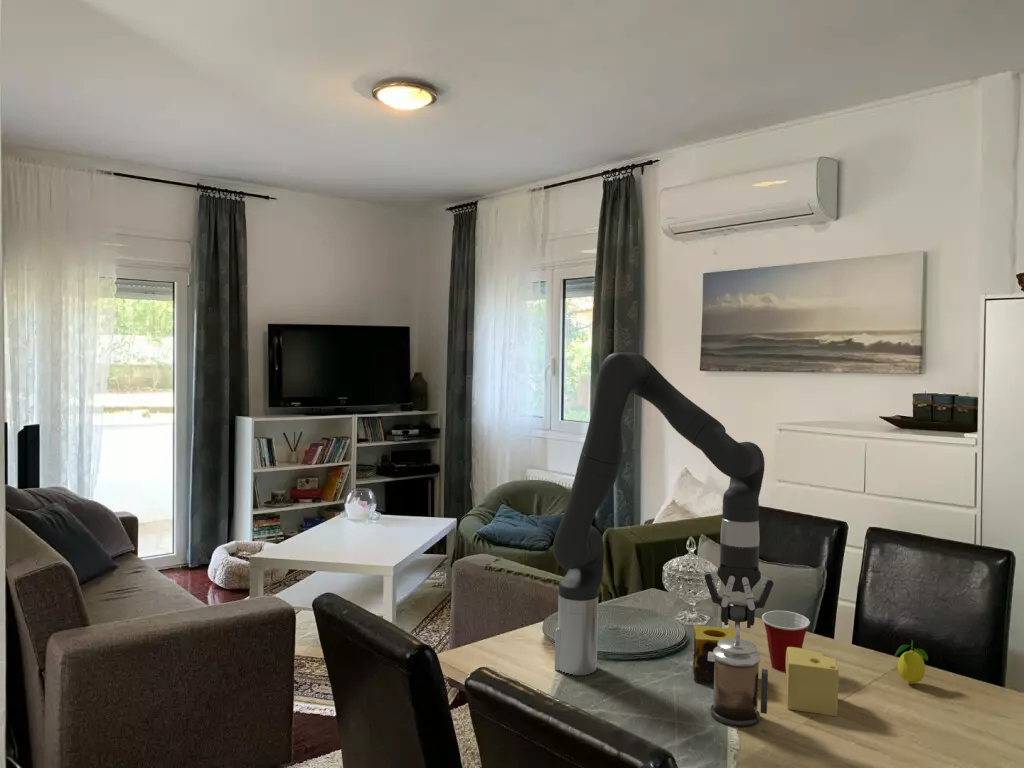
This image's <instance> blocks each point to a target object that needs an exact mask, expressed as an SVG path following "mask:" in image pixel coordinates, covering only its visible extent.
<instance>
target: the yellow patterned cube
mask: <svg viewBox="0 0 1024 768" xmlns="http://www.w3.org/2000/svg"><path fill="white" fill-rule="evenodd" d="M693 638H694V639H693V643H694V644H693V655H692V656H693V657H692V659H693V660H692V661H693V662H692V664H693V665H692V666H693V667H692V669H693V676H694V677H693V681H694V682H696V683H700V684H707V685H708V684H711V685H714V664H715V662H713V661H708V652H713V650H714V648H715V647H717V646H718V641H719V640H721V639H727V638H735V628H733V627H731V628H730V627H723V626H722V627H719V626H707V625H705V626H704V625H697V624H696V625H694V626H693Z"/></svg>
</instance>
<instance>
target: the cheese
mask: <svg viewBox="0 0 1024 768" xmlns="http://www.w3.org/2000/svg"><path fill="white" fill-rule="evenodd" d="M785 673H786V674H785V675H786V681H787V682H786V684H787V688H786V689H787V690H786V691H787V692H786V702H787V704H786V705H787V707H786V709H788V710H792V711H798V712H805V713H813V714H820V715H826V716H833V717H838V710H839V709H838V706H839V682H840V681H839V676H840V673H839V666H838V662H837V659H836V658H835V657H834V658H832V657H829V656H826V655H825V654H824V653H823V652H820V651H817V650H816V651H815V650H812V649H811V650H810V649H805V648H803V647H802V648H796V647H787V651H786V672H785Z"/></svg>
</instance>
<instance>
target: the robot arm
mask: <svg viewBox="0 0 1024 768" xmlns="http://www.w3.org/2000/svg"><path fill="white" fill-rule="evenodd" d="M630 394H631V395H632V394H634V395H636V396H638V397H640V398H642V399H643V400H645V401H647V402H649V403H650V404H652V405H653V406H654V407H655V408H656V409H657V410H658V411H659V412H660V413H661V414H662V415H663V416H664V418H665V419H666V420H667V422H668V423H669V425H670V426H671V427H672V428H673V429H674V430H675V431H676V432H677V433H678V434H679V435H680V436H681V437H683V438H684V439H685V440H687V442H689V443H690V444H691V445H693V446H694V447H696V448H697V449H699V450H700V451H701V452H702V453H703V454H704V456H705V457H706V458H707V459H708V460H709V462H711V463H712V464H713V466H714V467H715V468H716V469H717V470H719V472H720V473H722V474H724V475H725V476H727V477H729V478H730V479H729V486H728V488H727V489H726V490H725V491H724V493H723V496H722V516H721V517H722V519H721V526H720V545H719V546H720V547H719V549H720V550H719V551H720V552H719V555H720V556H719V567H718V568H717V570H716V571H706V572H705V574H704V580H705V583H706V585H707V589H708V592H709V595H710V598H711V600H712V603H714V604H717V605H719V606H720V609H721V610H720V621H721V623H724V625H723V626H729V619H728V603H729V602H730V601H729V600H730V597H731V594H732V593H736V592H740V593H741V594H743V593H744V594H745V599H746V602H747V605H748V609H747V621H746V628H747V629H751V626H754V624H755V616H756V615H755V613H756V610H757V609H764V608H765V606H766V603H767V601H768V598H769V596H770V593H771V592H772V589H773V587H774V579H773V577H766V576H764V575H762V573H761V571H760V569H759V568H760V567H759V566H760V565H759V564H760V561H759V560H760V540H761V539H760V524H759V513H760V511H759V509H760V504H759V503H760V502H759V501H760V499H759V497H760V494H761V491H762V490H761V489H762V484H763V479H764V474H765V457H764V456H765V455H764V453H763V451H762V449H761V447H759V446H758V444H756V443H754V442H751V441H742V442H738V441H736V440H735V439H734V438H733V437H732V436H730V435H729V434H728V433H727V431H726V427H725V426H724V425H723V424H722V423H721V422H720V421H719V420H718V419H717V418H715V417H714V416H712V415H711V414H709V413H708V412H707V411H705V410H704V409H703V408H701V407H700V406H698V405H697V404H696V403H694V402H693V401H692V400H690V399H689V397H687V396H686V395H684V394H683V393H682V392H681V391H680V390H679V389H677V388H676V387H675V386H674V385H673V384H672V383H670V381H668V380H667V378H666V377H665V376H664V375H662V373H660V372H659V370H658V369H656V367H655V366H654V365H653V364H652V363H651V362H650V361H649V360H648V359H647V358H646V357H645V356H644V355H642V354H640V353H637V352H630V351H629V352H624V351H623V352H622V351H619V352H617V351H616V352H612V353H610V354H608V355H607V357H606V358H604V360H603V361H602V363H601V366H600V368H599V373H598V376H597V383H596V390H595V397H594V401H593V402H594V403H593V407H592V412H591V416H590V419H589V423H588V427H587V430H586V435H585V439H584V442H583V445H582V448H581V452H580V456H579V459H578V463H577V468H576V471H575V475H574V479H573V482H572V483H573V484H572V485H571V486H572V487H571V490H570V494H569V496H568V497H569V498H568V501H567V503H566V506H565V510H564V512H563V514H562V517H561V520H560V523H559V525H558V527H557V531H556V533H555V536H554V539H553V544H552V551H553V556H554V559H555V561H556V563H557V564H558V566H560V567H561V568H563V569H566V570H567V572H566V574H565V575H564V576H563V578H561V580H560V582H558V583H559V584H558V600H557V601H558V603H557V606H558V607H557V609H558V610H557V614H558V615H557V626H556V628H555V630H554V633H555V635H554V637H555V638H554V670H555V671H559V670H560V671H559V672H561V671H562V673H563V672H565V673H564V674H566V673H569V674H568V675H570V674H573V675H572V676H588V675H591V674H590V673H592V672H594V671H595V670H596V671H597V669H598V666H597V665H598V630H599V629H598V627H599V625H598V624H599V622H598V621H599V619H598V618H599V617H598V616H599V590H600V587H601V585H602V582H603V573H604V561H605V560H604V559H605V545H604V539H603V537H602V534H601V532H600V530H598V528H596V527H595V526H593V525H592V524H593V520H594V518H595V516H596V514H597V512H598V510H599V508H600V507H601V505H602V504H603V503H604V502H605V499H607V497H608V495H609V494H610V492H611V490H612V489H613V487H614V485H615V483H616V481H617V478H618V475H619V471H620V468H621V465H622V460H623V456H624V439H623V431H622V421H623V415H624V410H625V408H626V404H627V401H628V399H629V396H630ZM717 578H719V579H720V580H721V582H722V583H723V585H724V587H725V588H724V592H723V595H722V596H720V595H719V593H718V590H717V586H716V584H715V583H717ZM759 581H760V582H761V588H762V591H761V594H760V596H759V597H758V600H757V599H756V600H755V597H754V592H753V589H754V587H755V586H756V585H757V584H758V583H759ZM596 668H597V669H596ZM596 671H595V672H596ZM595 672H594V673H595ZM587 674H588V675H587ZM592 674H593V673H592Z"/></svg>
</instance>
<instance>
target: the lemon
mask: <svg viewBox="0 0 1024 768" xmlns="http://www.w3.org/2000/svg"><path fill="white" fill-rule="evenodd" d="M913 644H914V641H913V640H912V639H911V644H910V645H909V644H902V645H900V646H899V647H898V649H896V651H895V653H894V657H896V656H898V655H899V654H900V653H901V652H903V651H904V650H906V649H907V648H909V647H910V646H911V647H910V650H909V651H905V652H903V653H902V654H901V655H900V657H899V659H898V662H897V672H898V674H899V676H900V678H902V679H903V680H904V681H906V682H907V683H909V684H910V685H914V684H915V683H918V682H921V681H922V680H923V679H924V677H925V675H926V665H925V664H926V663H925V661H926V662H927V661H929V657H928V654H927V652H926V651H925V650H924V649H922V648H915V647H913ZM913 649H914V650H913Z"/></svg>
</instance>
